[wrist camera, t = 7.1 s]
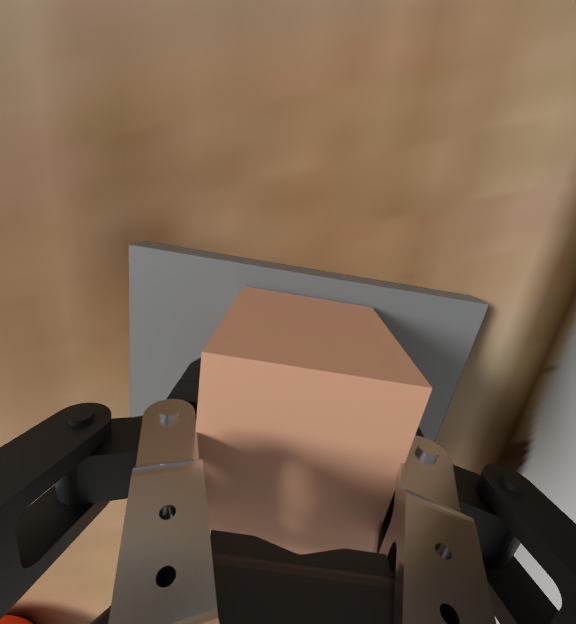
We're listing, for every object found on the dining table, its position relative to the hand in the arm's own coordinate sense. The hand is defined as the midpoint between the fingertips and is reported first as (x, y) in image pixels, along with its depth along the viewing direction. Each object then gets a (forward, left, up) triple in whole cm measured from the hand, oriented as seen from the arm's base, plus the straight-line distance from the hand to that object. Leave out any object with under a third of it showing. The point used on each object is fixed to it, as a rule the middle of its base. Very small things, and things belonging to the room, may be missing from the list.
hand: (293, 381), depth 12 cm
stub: (+1, 0, -1) cm, 1 cm away
